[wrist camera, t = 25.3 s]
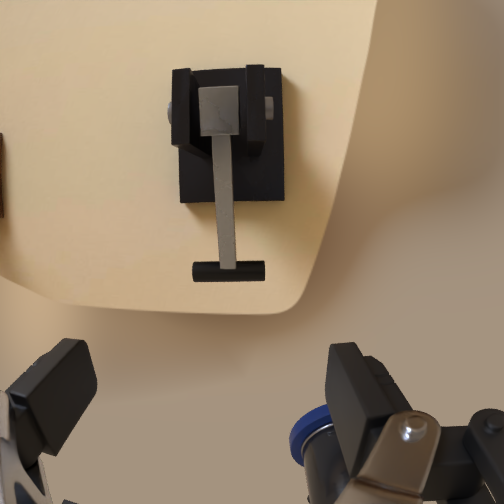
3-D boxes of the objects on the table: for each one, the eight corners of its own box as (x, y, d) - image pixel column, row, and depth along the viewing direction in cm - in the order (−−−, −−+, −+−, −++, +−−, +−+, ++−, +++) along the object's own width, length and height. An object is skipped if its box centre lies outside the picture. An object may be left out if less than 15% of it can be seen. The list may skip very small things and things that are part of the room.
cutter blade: (263, 270, 24) (265, 289, 22) (197, 271, 24) (192, 290, 22) (262, 85, 17) (264, 85, 15) (181, 89, 17) (172, 90, 15)
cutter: (283, 199, 28) (305, 212, 17) (182, 202, 28) (138, 217, 17) (279, 71, 26) (297, 10, 14) (181, 75, 26) (142, 20, 14)
